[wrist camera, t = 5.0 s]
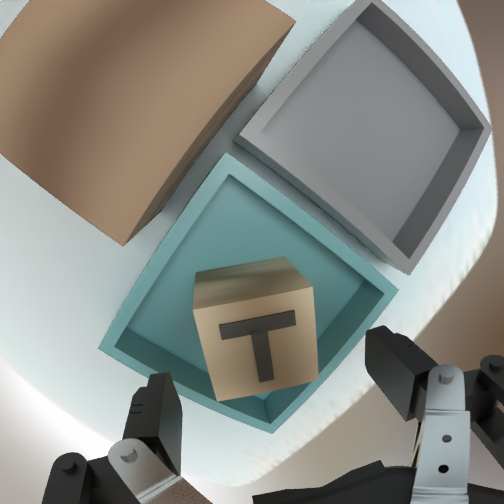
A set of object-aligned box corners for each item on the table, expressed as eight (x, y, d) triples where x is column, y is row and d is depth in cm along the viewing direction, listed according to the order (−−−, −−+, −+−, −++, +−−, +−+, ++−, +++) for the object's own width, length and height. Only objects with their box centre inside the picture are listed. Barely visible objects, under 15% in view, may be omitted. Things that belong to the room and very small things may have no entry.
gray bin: (233, 140, 16) (239, 134, 14) (347, 8, 15) (367, -11, 12) (383, 261, 19) (408, 275, 17) (464, 130, 18) (492, 128, 15)
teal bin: (111, 323, 18) (98, 348, 15) (222, 155, 16) (226, 151, 14) (264, 405, 21) (272, 433, 18) (374, 273, 20) (398, 289, 17)
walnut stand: (42, 130, 14) (-43, 115, 7) (134, 9, 13) (102, -70, 6) (159, 213, 17) (123, 246, 9) (256, 82, 16) (296, 21, 8)
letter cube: (213, 348, 19) (217, 403, 14) (195, 272, 17) (192, 311, 12) (293, 332, 19) (319, 381, 14) (284, 255, 18) (313, 288, 13)
